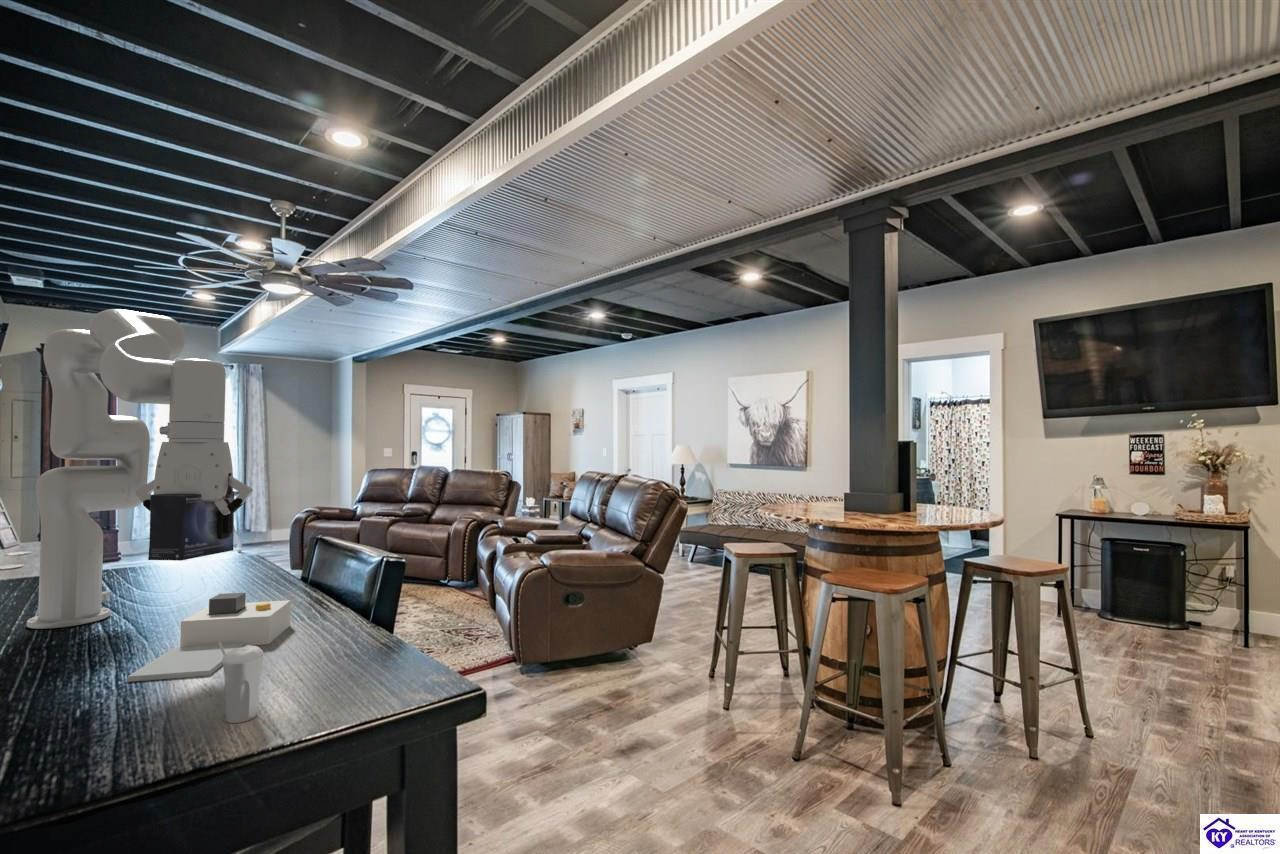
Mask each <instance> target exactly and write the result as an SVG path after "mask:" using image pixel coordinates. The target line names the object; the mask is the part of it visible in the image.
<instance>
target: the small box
mask: <svg viewBox="0 0 1280 854" xmlns="http://www.w3.org/2000/svg"><path fill="white" fill-rule="evenodd" d="M226 495H227V494H226ZM150 499H151V503H150V504H151V507H150V511H149V541H148V543H149V544H148V545H149V546H148V547H149V548H148V557H147V560H148V561H179V562H180V561H181V562H182V561H186V560H191V559H197V558H201V557H207V556H210V555H217V554H221V553H227V552H233V551H234V537H235V536H234V535H235V533H234V532H235V531H234V530H235V529H234V528H235V526H234V523H235V522H234V521H235V513H233V526H232V533H230V535H229V537H228V538H225V539H217V519H218V516H219V515H221V511H220V510H219V509H218V507H217V506H216V504H215V503H214V502H204V501H202V497H201V494H154V493H153V494H151V496H150ZM229 499H230V501H231V502H232V501H233V500H234V499H235V491H234V490H233V493H232V496H231V497H230V498H229Z"/></svg>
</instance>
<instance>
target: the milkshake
mask: <svg viewBox="0 0 1280 854" xmlns="http://www.w3.org/2000/svg"><path fill="white" fill-rule="evenodd" d="M218 644H219V646H220V648H221V651H222V653H223V655H224V657H223V659H222V661H223V665H222V668H223V669H222V670H223V681H224V695H225V697H224V698H225V713H226V714H225V715H226V722H228V723H230V724H240V723H241V724H242V723H244V722H245V723H246V722H249V721H250V720H252V719H255V718H256V716H257V714H258V713H257V711H258V701H259V695H260V694H259V693H260V685H261V684H260V683H261V676H262V669H263V660H264V655H265V653H264V651H263V650H262V649H261V647H259V646H258V645H247V646H244V647H242V648H236V649H234V650H233V651H230V652H228V653H227V654H226V653H225V651H224V649H223V646H222V644H221V642H218Z"/></svg>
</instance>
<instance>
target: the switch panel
mask: <svg viewBox="0 0 1280 854" xmlns="http://www.w3.org/2000/svg"><path fill="white" fill-rule="evenodd" d="M291 605H292V600H290V599H289V600H276V601H275V600H272V601H271V600H269V601H254V602H253V601H252V602H245V609H243V610H242V611H240V612H239V613H236V614H218V615H209V605H207V606H206V607H204V608H202V609H201V610H199V611H197V612H195V613H193V614H191V615H190V616H188V617H186V618H183V620H181V621H180V642H179V643H180V644H179V647H188V646H204V645H219V644H218V642H221V644H235V643H245V646H247V645H251V646H259V645H260V646H262V645H269V644H271V643H272V642H274V640H276V639H277V638H278V637H279V636H280V635H281V634H282V633H284V632H285V631H286V630H287V629H288V628H289V627H290V626H291V613H292V612H291V610H292V609H291V607H292V606H291Z"/></svg>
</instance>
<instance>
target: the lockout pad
mask: <svg viewBox="0 0 1280 854" xmlns="http://www.w3.org/2000/svg"><path fill="white" fill-rule="evenodd" d="M222 646H223V649H224V651H225V653H226V654H227V653H228V652H230V651H233V650H234V649H236V648H242V647H244V646H245V643H235V644H222ZM223 657H224V655H223V653H222V651H221V648H220V646H219V645H204V646H188V647H180V646H174V647H172V648H171V649H169V650H168V651H166V652H164V653H163V654H161V655H160V656H158V657H156V658H155V659H153V660H151V661H149V662H148V663H146V664H145V665H143V666H142V667H141V668H138V669H137V670H135V671H133V672H132V673H131V674H129V675H127V677H126V680H127V683H129V682H141V681H143V682H144V681H156V680H157V681H158V680H169V679H180V678H183V679H184V678H195V677H209V676H211V675H213V674H214V673H215V672H216V671H218V669H220V668H221V667H223V661H222V659H223Z"/></svg>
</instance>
